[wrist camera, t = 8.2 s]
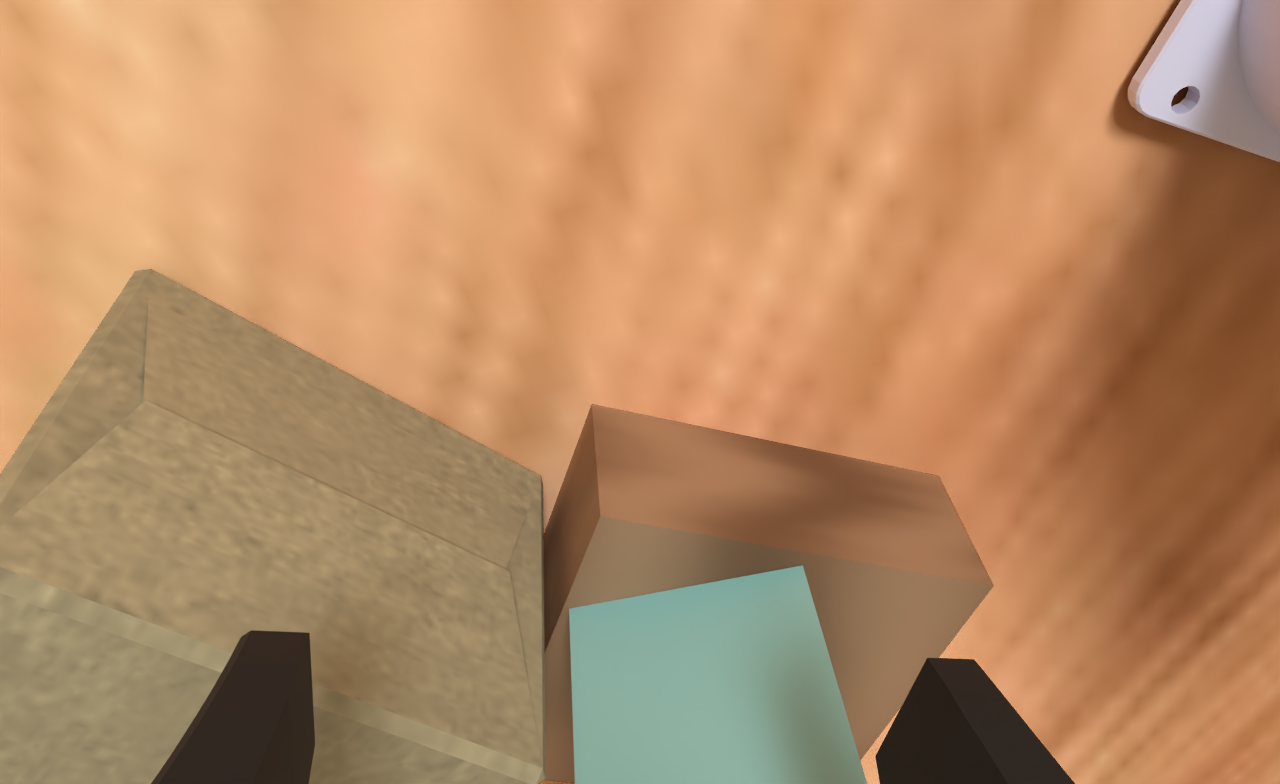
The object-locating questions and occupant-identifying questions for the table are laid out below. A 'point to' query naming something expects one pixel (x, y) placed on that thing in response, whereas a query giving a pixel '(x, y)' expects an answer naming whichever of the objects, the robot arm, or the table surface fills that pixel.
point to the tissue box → (261, 560)
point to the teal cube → (709, 688)
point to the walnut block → (757, 551)
